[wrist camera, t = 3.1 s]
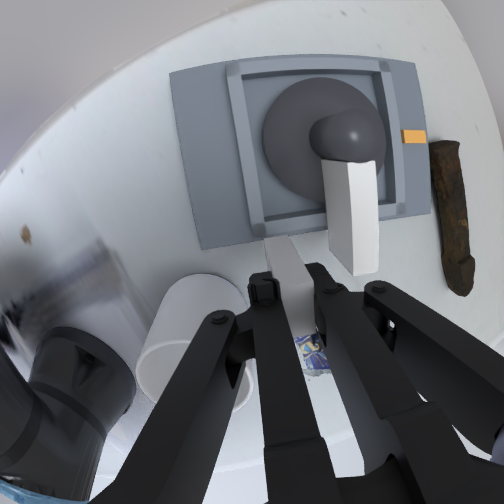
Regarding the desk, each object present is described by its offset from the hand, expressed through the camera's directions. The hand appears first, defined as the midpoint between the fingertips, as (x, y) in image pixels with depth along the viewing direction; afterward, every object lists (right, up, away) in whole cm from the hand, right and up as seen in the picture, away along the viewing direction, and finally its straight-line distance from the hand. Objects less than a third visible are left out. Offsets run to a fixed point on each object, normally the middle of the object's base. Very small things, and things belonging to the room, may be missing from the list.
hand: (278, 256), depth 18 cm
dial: (+4, +7, +3) cm, 9 cm away
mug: (-8, -7, +11) cm, 15 cm away
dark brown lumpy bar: (+21, +4, +9) cm, 23 cm away
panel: (+4, +10, +5) cm, 12 cm away
